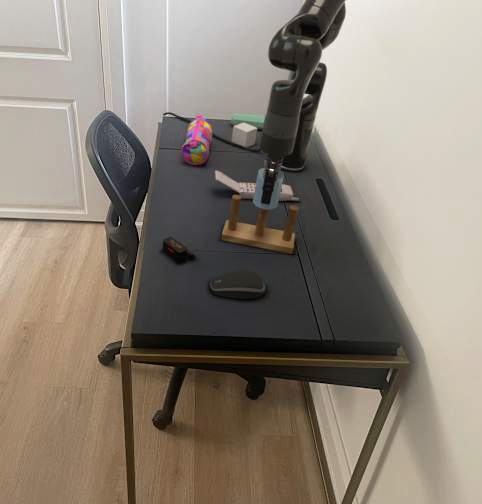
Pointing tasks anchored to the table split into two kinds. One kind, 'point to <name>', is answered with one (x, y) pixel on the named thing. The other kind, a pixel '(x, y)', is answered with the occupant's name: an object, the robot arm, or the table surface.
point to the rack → (260, 230)
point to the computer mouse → (238, 285)
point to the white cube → (244, 134)
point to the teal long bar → (248, 120)
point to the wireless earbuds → (176, 250)
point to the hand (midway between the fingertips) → (266, 196)
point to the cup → (275, 193)
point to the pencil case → (197, 141)
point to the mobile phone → (252, 188)
